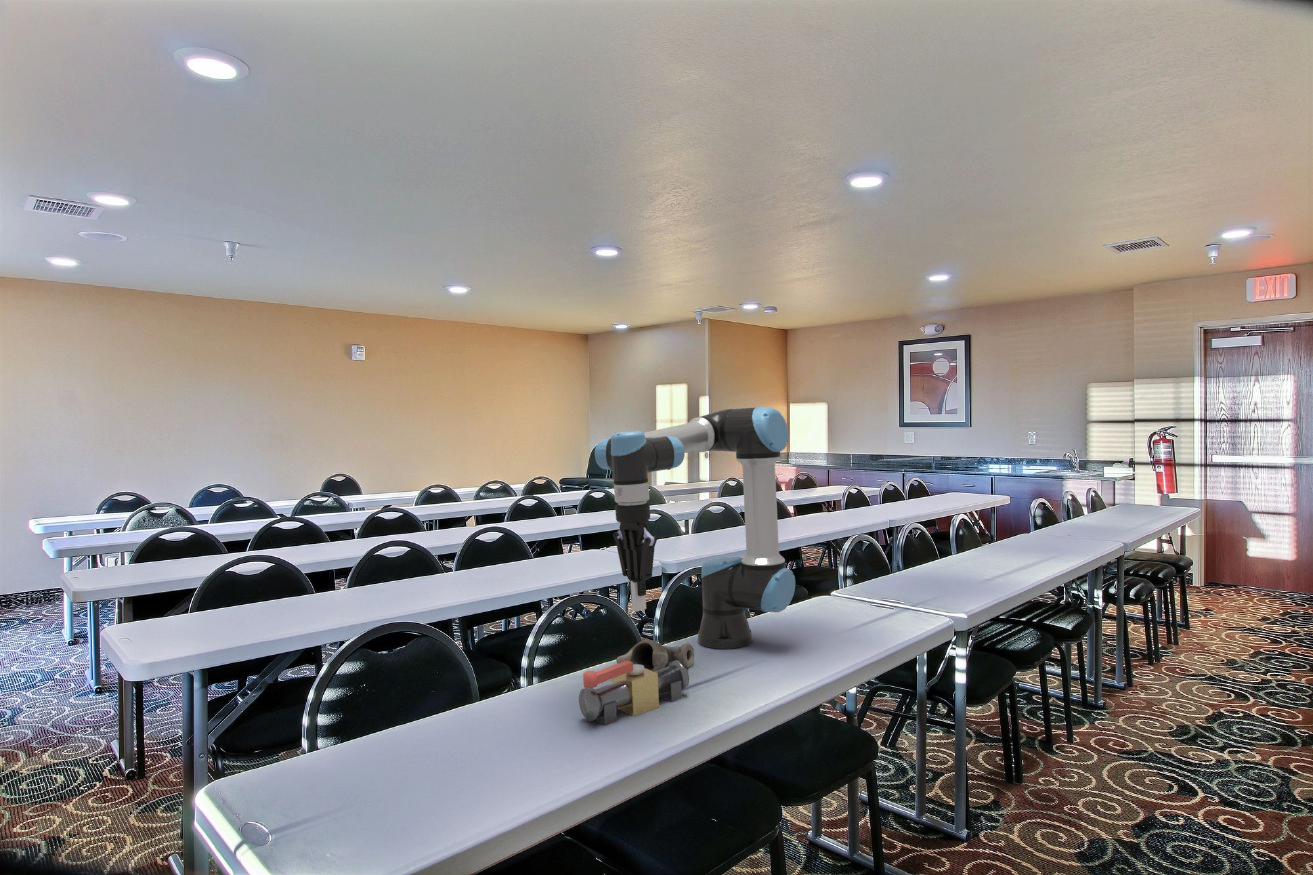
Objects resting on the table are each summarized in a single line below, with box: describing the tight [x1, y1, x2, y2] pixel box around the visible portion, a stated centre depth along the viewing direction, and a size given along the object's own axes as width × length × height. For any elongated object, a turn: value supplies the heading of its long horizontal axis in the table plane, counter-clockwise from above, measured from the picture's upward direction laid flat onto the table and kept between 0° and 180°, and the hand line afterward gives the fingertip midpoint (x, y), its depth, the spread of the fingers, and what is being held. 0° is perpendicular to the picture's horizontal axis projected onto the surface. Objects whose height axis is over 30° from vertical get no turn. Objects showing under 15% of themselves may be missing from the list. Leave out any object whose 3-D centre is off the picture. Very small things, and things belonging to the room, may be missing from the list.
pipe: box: [615, 639, 695, 671], centre depth 187 cm, size 16×9×15 cm
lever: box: [582, 661, 644, 689], centre depth 158 cm, size 16×4×3 cm, turn 137°
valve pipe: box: [578, 660, 690, 726], centre depth 163 cm, size 25×7×8 cm, turn 129°
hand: (639, 609), depth 163 cm, fingers closed
